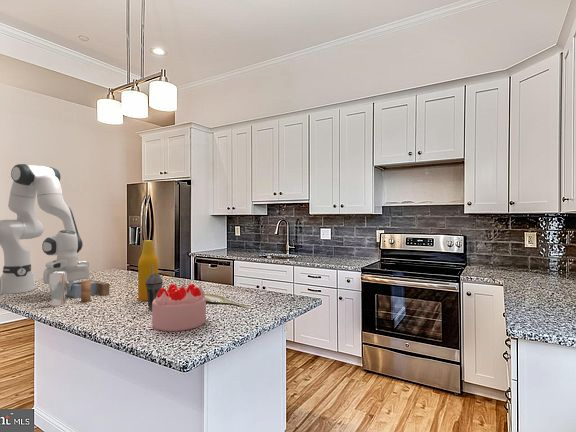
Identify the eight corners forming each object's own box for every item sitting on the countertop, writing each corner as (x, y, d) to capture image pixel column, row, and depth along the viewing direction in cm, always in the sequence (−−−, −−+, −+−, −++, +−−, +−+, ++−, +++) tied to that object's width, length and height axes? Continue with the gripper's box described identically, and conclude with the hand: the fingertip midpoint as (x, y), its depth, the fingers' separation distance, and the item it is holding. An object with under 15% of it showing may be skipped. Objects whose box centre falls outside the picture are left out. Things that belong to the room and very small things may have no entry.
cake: (216, 320, 136) (216, 284, 136) (177, 336, 119) (177, 294, 119) (180, 313, 146) (180, 280, 146) (139, 326, 129) (139, 288, 129)
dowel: (79, 301, 165) (79, 281, 165) (88, 300, 168) (88, 279, 168) (83, 303, 162) (83, 282, 162) (92, 301, 166) (92, 280, 166)
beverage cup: (166, 307, 155) (166, 263, 155) (155, 311, 148) (155, 265, 148) (153, 306, 158) (153, 262, 157) (141, 310, 151) (141, 264, 151)
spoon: (262, 310, 158) (262, 305, 158) (247, 316, 149) (248, 311, 149) (207, 295, 176) (208, 291, 176) (191, 300, 167) (192, 295, 167)
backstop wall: (84, 291, 187) (84, 280, 187) (90, 290, 190) (90, 279, 190) (103, 296, 176) (103, 284, 176) (109, 295, 179) (109, 283, 179)
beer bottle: (158, 300, 168) (158, 240, 168) (137, 302, 165) (137, 241, 164) (158, 296, 176) (158, 239, 176) (138, 297, 173) (138, 240, 173)
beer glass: (58, 307, 155) (58, 273, 155) (45, 306, 157) (45, 273, 157) (71, 303, 162) (71, 271, 162) (58, 302, 164) (58, 270, 164)
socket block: (66, 295, 177) (66, 283, 177) (87, 291, 186) (87, 280, 186) (76, 297, 172) (76, 285, 172) (96, 294, 180) (96, 282, 180)
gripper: (86, 260, 183) (86, 285, 184) (41, 264, 167) (41, 292, 167) (92, 261, 180) (91, 287, 180) (47, 265, 163) (46, 294, 163)
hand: (67, 290), depth 173 cm, fingers closed
